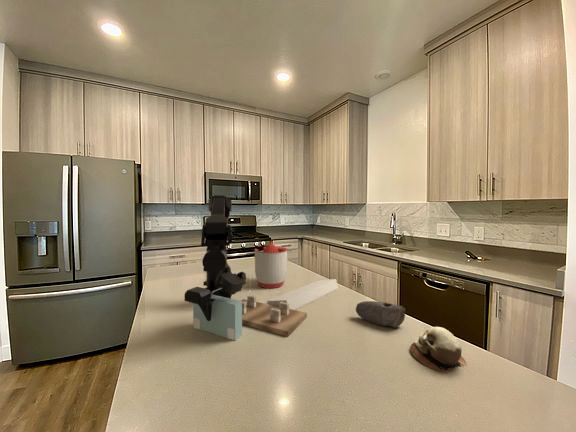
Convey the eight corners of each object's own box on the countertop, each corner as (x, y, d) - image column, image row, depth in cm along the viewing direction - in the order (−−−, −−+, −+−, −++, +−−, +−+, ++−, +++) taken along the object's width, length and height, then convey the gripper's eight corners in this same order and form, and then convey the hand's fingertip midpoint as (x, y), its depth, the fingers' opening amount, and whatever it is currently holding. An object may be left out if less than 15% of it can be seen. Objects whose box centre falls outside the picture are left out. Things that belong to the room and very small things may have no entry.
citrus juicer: (266, 277, 128) (266, 239, 127) (293, 283, 118) (294, 242, 117) (244, 285, 115) (244, 242, 115) (273, 292, 105) (273, 246, 104)
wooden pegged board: (218, 317, 81) (218, 302, 81) (243, 302, 94) (243, 290, 94) (288, 336, 70) (288, 319, 69) (306, 317, 82) (307, 302, 82)
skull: (396, 344, 64) (417, 312, 66) (419, 365, 67) (438, 333, 69) (437, 372, 53) (460, 332, 55) (462, 396, 55) (484, 357, 57)
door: (193, 327, 75) (193, 295, 74) (201, 323, 77) (200, 291, 77) (235, 340, 67) (235, 304, 67) (242, 335, 70) (242, 301, 70)
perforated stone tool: (352, 319, 81) (353, 298, 80) (358, 314, 85) (358, 294, 85) (402, 333, 72) (402, 310, 72) (405, 326, 76) (406, 304, 76)
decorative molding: (269, 314, 91) (289, 314, 85) (267, 300, 92) (286, 300, 85) (320, 290, 117) (338, 289, 110) (318, 280, 118) (336, 278, 111)
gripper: (214, 275, 60) (215, 338, 60) (257, 260, 76) (257, 309, 77) (182, 269, 65) (183, 327, 65) (229, 256, 81) (229, 303, 82)
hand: (216, 316), depth 72 cm, fingers open, 6 cm apart
